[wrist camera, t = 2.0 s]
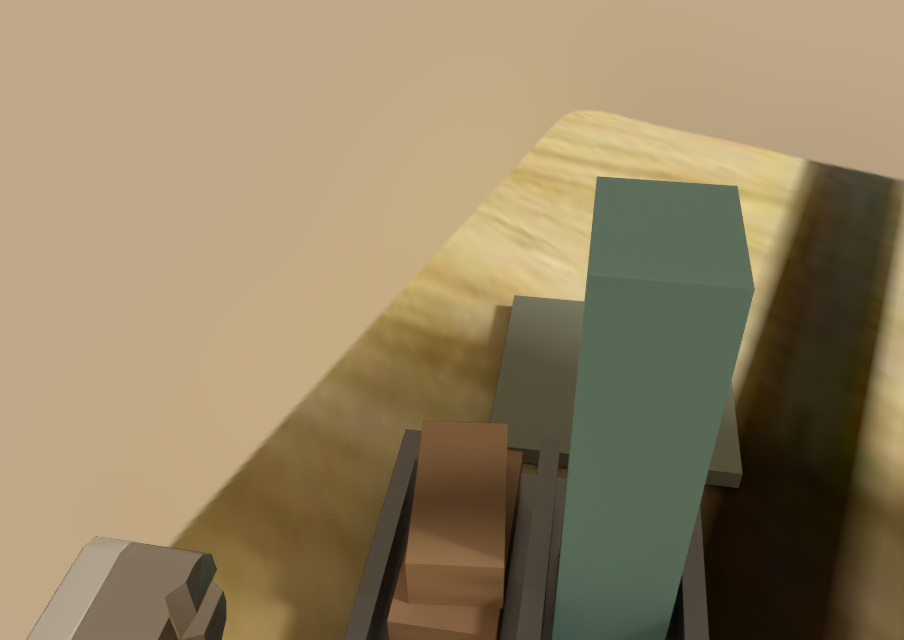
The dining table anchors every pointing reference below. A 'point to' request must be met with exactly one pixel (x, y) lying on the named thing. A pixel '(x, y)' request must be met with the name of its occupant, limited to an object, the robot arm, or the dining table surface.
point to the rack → (530, 560)
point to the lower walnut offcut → (458, 627)
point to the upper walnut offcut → (458, 516)
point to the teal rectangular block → (647, 398)
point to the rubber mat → (568, 386)
